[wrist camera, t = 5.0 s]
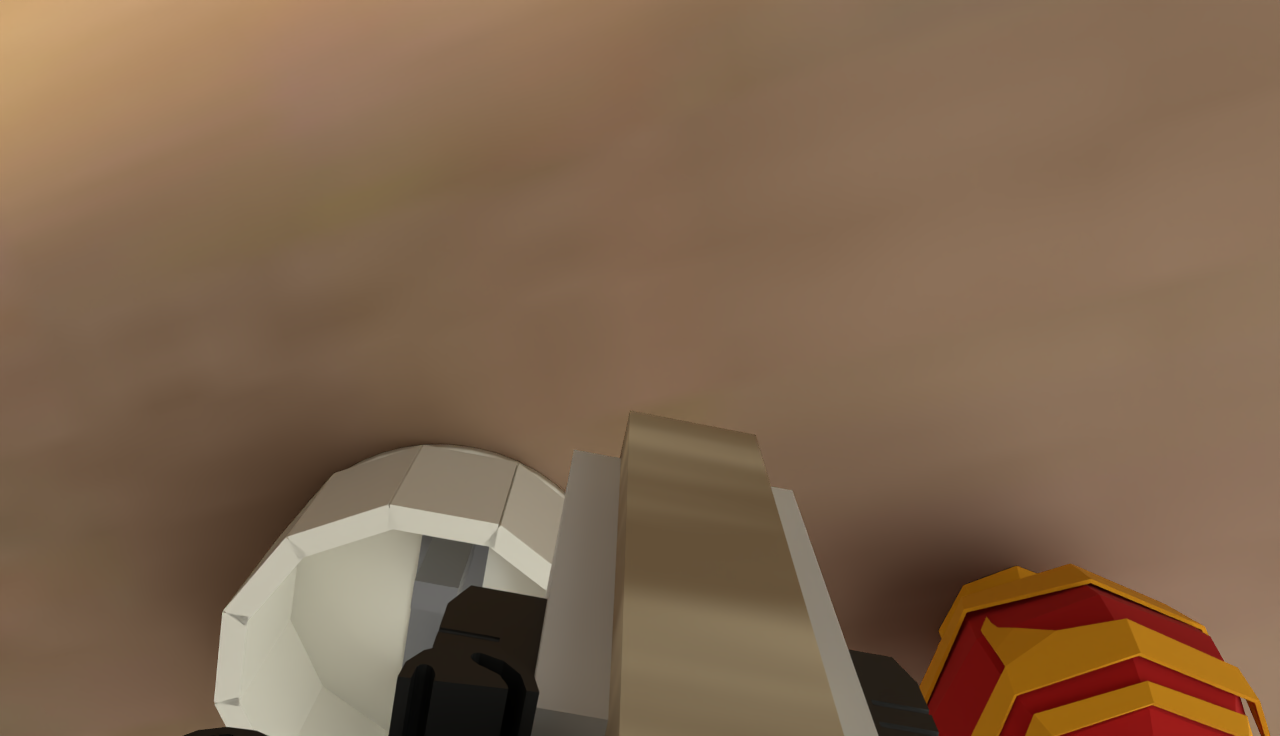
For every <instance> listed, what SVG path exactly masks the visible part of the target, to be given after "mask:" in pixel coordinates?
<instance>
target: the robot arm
mask: <svg viewBox="0 0 1280 736" xmlns="http://www.w3.org/2000/svg"><path fill="white" fill-rule="evenodd" d="M620 467H621V458H616V457H611V456H605V455H600V454H595V453H589V452H584V451H579V450H574V453H573V458H572V463H571V468H570V473H569V478H568V483H567V488H566V494H565V499H564V504H563V509H562V514H561V519H560V524H559V529H558V534H557V540H556V545H555V550H554V555H553V560H552V565H551V570H550V575H549V581H548V586H547V591H546V596H545V598H540V597H535V596H529V595H523V594H518V593H512V592H507V591H501V590H495V589H490V588H484V587H479V586H473V585H471V586H470V587H468V588H467V589H466V590H464V591H463V592H462V593H460V594H459V595H458V596H456V597H455V598H454V599H453V600H451V601H450V602H449V603H448V604H447V607H446V610H445V613H444V616H443V618H442V621H441V624H440V627H439V631H438V632H437V635H436V638H435V641H434V644H433V647H432V648H430V649H426V650H423V651H422V652H420V653H418V654H417V655H415V656H414V657H412V658H411V659H409V660H407V661H406V662H405V664H404V666H403V668H402V669H401V671H400V673H399V675H398V676H397V683H396V689H395V696H394V702H393V709H392V716H391V722H390V729H389V735H388V736H605V732H606V728H607V723H608V715H609V694H610V674H611V653H612V632H613V612H614V591H615V570H616V550H617V529H618V508H619V487H620ZM771 489H772V492H773V496H774V499H775V503H776V506H777V509H778V513H779V516H780V520H781V523H782V526H783V530H784V533H785V536H786V540H787V543H788V547H789V550H790V553H791V557H792V560H793V564H794V567H795V570H796V574H797V577H798V581H799V584H800V587H801V591H802V594H803V598H804V601H805V604H806V608H807V611H808V615H809V618H810V621H811V625H812V628H813V632H814V635H815V638H816V642H817V645H818V649H819V652H820V655H821V659H822V662H823V665H824V669H825V672H826V676H827V679H828V682H829V686H830V689H831V693H832V696H833V699H834V703H835V706H836V710H837V713H838V716H839V720H840V723H841V727H842V730H843V733H844V736H939V731H938V729H937V726H936V724H935V722H934V720H933V717H932V715H929V708H928V706H927V704H926V702H925V699H924V697H923V695H922V693H921V690H920V688H919V686H918V683H917V682H916V681H915V680H914V679H913V678H912V677H911V676H910V675H909V674H908V673H907V672H906V671H905V670H904V669H903V668H902V667H901V666H900V665H899V664H898V663H897V662H896V661H895V660H894V659H893V658H892V657H887V656H881V655H876V654H870V653H865V652H859V651H853V650H848V648H847V645H846V642H845V639H844V636H843V633H842V631H841V628H840V625H839V622H838V619H837V616H836V613H835V611H834V608H833V605H832V602H831V599H830V596H829V593H828V591H827V588H826V585H825V582H824V579H823V576H822V574H821V571H820V568H819V565H818V562H817V559H816V556H815V554H814V551H813V548H812V545H811V542H810V539H809V537H808V534H807V531H806V528H805V525H804V522H803V519H802V517H801V514H800V511H799V508H798V505H797V502H796V499H795V497H794V494H793V491H792V490H787V489H782V488H776V487H771ZM184 736H268V735H265V734H263V733H261V732H259V731H256V730H249V729H241V728H233V727H222V728H214V729H205V730H198V731H195V732H192V733H189V734H187V735H184Z"/></svg>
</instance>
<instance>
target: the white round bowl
mask: <svg viewBox="0 0 1280 736" xmlns="http://www.w3.org/2000/svg"><path fill="white" fill-rule="evenodd" d="M565 494H566V493H565V492H564V491H563V490H562V489H561V488H559V487H558V486H557V485H556V484H555V483H553V482H552V481H550V480H549V479H547V478H546V477H545V476H543V475H542V474H540V473H539V472H537V471H535V470H533V469H532V468H530V467H528V466H526V465H524V464H522V463H520V462H518V461H516V460H513V459H511V458H508V457H505V456H503V455H500V454H498V453H494V452H490V451H486V450H482V449H478V448H474V447H467V446H459V445H451V444H426V445H418V446H410V447H403V448H399V449H395V450H391V451H387V452H383V453H380V454H378V455H375V456H373V457H370V458H368V459H365V460H363V461H360V462H359V463H357V464H355V465H353V466H351V467H350V468H348V469H346V470H342V471H339V472H336V473H334V474H332V476H331V477H330V478H329V479H328V480H327V481H326V483H325V484H324V485H323V486H322V487H321V488H320V490H319V491H318V492H317V493H316V494H315V495H314V496H313V497H312V498H311V499H310V501H309V502H308V503H307V505H306V506H305V507H304V508H303V510H302V511H301V512H300V513H299V514H298V515H297V517H296V518H295V519H294V520H293V521H292V522H291V524H290V525H289V526H288V527H287V528H286V529H285V531H284V532H283V533H282V534H281V535H280V536H279V538H278V539H277V540H276V541H275V543H274V544H273V545H272V547H271V548H270V549H269V551H268V552H267V553H266V555H265V556H264V557H263V559H262V560H261V561H260V563H259V564H258V565H257V566H256V568H255V569H254V570H253V572H252V573H251V574H250V576H249V577H248V578H247V580H246V581H245V582H244V584H243V585H242V586H241V588H240V589H239V590H238V592H237V593H236V594H235V595H234V597H233V598H232V599H231V601H230V602H229V603H228V605H227V606H226V607H225V609H224V610H223V612H222V622H221V633H220V643H219V654H218V664H217V675H216V686H215V696H214V702H215V706H216V708H217V710H218V712H219V714H220V716H221V718H222V719H223V721H224V723H225V725H226V727H233V728H241V729H249V730H256V731H259V732H261V733H263V734H265V735H268V736H388V735H389V729H390V722H391V716H392V709H393V702H394V696H395V689H396V683H397V676H398V675H399V673H400V671H401V669H402V668H403V666H404V664H405V662H406V661H407V660H409V659H411V658H412V657H414V656H415V655H417V654H418V653H420V652H422V651H423V650H426V649H430V648H432V647H433V644H434V641H435V638H436V635H437V632H438V631H439V627H440V624H441V621H442V618H443V616H444V613H445V610H446V607H447V604H448V603H449V602H450V601H451V600H453V599H454V598H455V597H456V596H458V595H459V594H460V593H462V592H463V591H464V590H466V589H467V588H468V587H470V586H471V585H473V586H479V587H484V588H490V589H495V590H501V591H507V592H512V593H518V594H523V595H529V596H535V597H540V598H545V596H546V591H547V586H548V581H549V575H550V570H551V565H552V560H553V555H554V550H555V545H556V540H557V534H558V529H559V524H560V519H561V514H562V509H563V504H564V499H565Z"/></svg>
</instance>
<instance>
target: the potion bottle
mask: <svg viewBox="0 0 1280 736" xmlns="http://www.w3.org/2000/svg"><path fill="white" fill-rule="evenodd" d="M939 633H940V636H941V638H942V639H941V641H940V643H939V644H938V648H937V650H936V652H935V654H934V657H933V659H932V661H931V663H930V665H929V667H928V669H927V672H926V674H925V676H924V678H923V680H922V682H921V684H920V686H919V688H920V690H921V693H922V695H923V697H924V699H925V702H926V704H927V706H928V708H929V715H932V717H933V720H934V722H935V724H936V726H937V729H938V731H939V736H1253V735H1252V732H1251V728H1250V725H1249V721H1248V718H1247V716H1246V715H1245V712H1244V709H1243V705H1242V702H1241V699H1240V697H1242V698H1244V699H1246V701H1247V703H1248V706H1249V708H1250V710H1251V713H1252V715H1253V718H1254V720H1255V722H1256V725H1257V727H1258V729H1259V732H1260V734H1261V736H1270V733H1269V730H1268V727H1267V723H1266V720H1265V717H1264V713H1263V710H1262V707H1261V703H1260V701H1259V699H1258V698H1257V696H1256V695H1255V693H1254V692H1253V690H1252V689H1251V687H1250V686H1249V684H1248V683H1247V681H1246V679H1245V678H1244V676H1243V675H1242V673H1241V672H1240V670H1239V669H1238V668H1237V667H1235V666H1233V665H1230V664H1228V663H1226V662H1224V660H1223V658H1222V657H1221V655H1220V653H1219V651H1218V650H1217V648H1216V646H1215V644H1214V643H1213V641H1212V639H1211V637H1210V636H1209V635H1208V633H1207V631H1206V628H1205V627H1204V626H1203V625H1201V624H1199V623H1197V622H1196V621H1194V620H1192V619H1190V618H1189V617H1187V616H1185V615H1183V614H1182V613H1180V612H1178V611H1176V610H1175V609H1173V608H1171V607H1169V606H1167V605H1166V604H1164V603H1161V602H1159V601H1157V600H1154V599H1152V598H1150V597H1147V596H1145V595H1143V594H1140V593H1138V592H1136V591H1133V590H1131V589H1129V588H1126V587H1124V586H1122V585H1119V584H1117V583H1115V582H1112V581H1110V580H1108V579H1105V578H1103V577H1101V576H1098V575H1096V574H1094V573H1091V572H1089V571H1087V570H1084V569H1082V568H1080V567H1077V566H1075V565H1073V564H1067V565H1064V566H1061V567H1058V568H1054V569H1051V570H1048V571H1044V572H1041V573H1038V574H1037V573H1034V572H1032V571H1029V570H1027V569H1024V568H1021V567H1019V566H1014V567H1012V568H1009V569H1006V570H1003V571H1001V572H998V573H995V574H993V575H990V576H987V577H985V578H982V579H979V580H976V581H974V582H971V583H968V584H966V585H963V587H962V589H961V591H960V592H959V594H958V596H957V598H956V600H955V601H954V603H953V605H952V607H951V609H950V611H949V612H948V614H947V616H946V618H945V620H944V622H943V623H942V625H941V627H940V629H939Z"/></svg>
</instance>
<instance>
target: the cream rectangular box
mask: <svg viewBox="0 0 1280 736" xmlns="http://www.w3.org/2000/svg"><path fill="white" fill-rule="evenodd" d="M620 458H621V467H620V487H619V508H618V529H617V550H616V570H615V591H614V612H613V632H612V653H611V674H610V694H609V715H608V723H607V728H606V732H605V736H844V733H843V730H842V727H841V723H840V720H839V716H838V713H837V710H836V706H835V703H834V699H833V696H832V693H831V689H830V686H829V682H828V679H827V676H826V672H825V669H824V665H823V662H822V659H821V655H820V652H819V649H818V645H817V642H816V638H815V635H814V632H813V628H812V625H811V621H810V618H809V615H808V611H807V608H806V604H805V601H804V598H803V594H802V591H801V587H800V584H799V581H798V577H797V574H796V570H795V567H794V564H793V560H792V557H791V553H790V550H789V547H788V543H787V540H786V536H785V533H784V530H783V526H782V523H781V520H780V516H779V513H778V509H777V506H776V503H775V499H774V496H773V492H772V489H771V486H770V482H769V479H768V475H767V472H766V469H765V465H764V462H763V458H762V455H761V452H760V448H759V445H758V441H757V438H756V435H753V434H748V433H743V432H738V431H733V430H727V429H722V428H717V427H712V426H707V425H702V424H696V423H691V422H686V421H681V420H676V419H671V418H666V417H660V416H655V415H650V414H645V413H640V412H635V411H630V413H629V418H628V423H627V427H626V432H625V436H624V441H623V446H622V450H621V455H620Z"/></svg>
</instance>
